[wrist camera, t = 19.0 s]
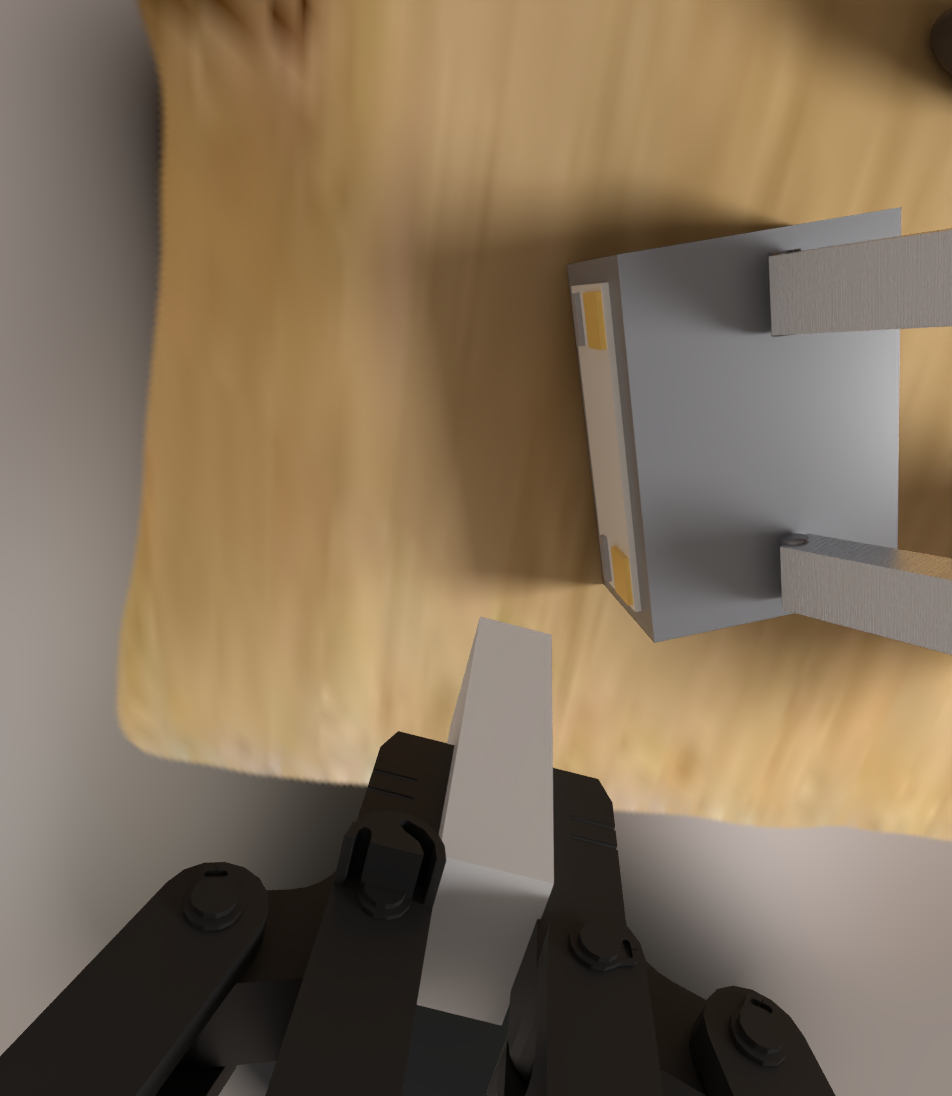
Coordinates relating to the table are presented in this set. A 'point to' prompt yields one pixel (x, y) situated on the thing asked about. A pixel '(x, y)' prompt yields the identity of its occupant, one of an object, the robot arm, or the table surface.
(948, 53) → the dark grey curved slab
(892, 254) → the lever
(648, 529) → the console
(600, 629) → the table surface
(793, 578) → the lever
